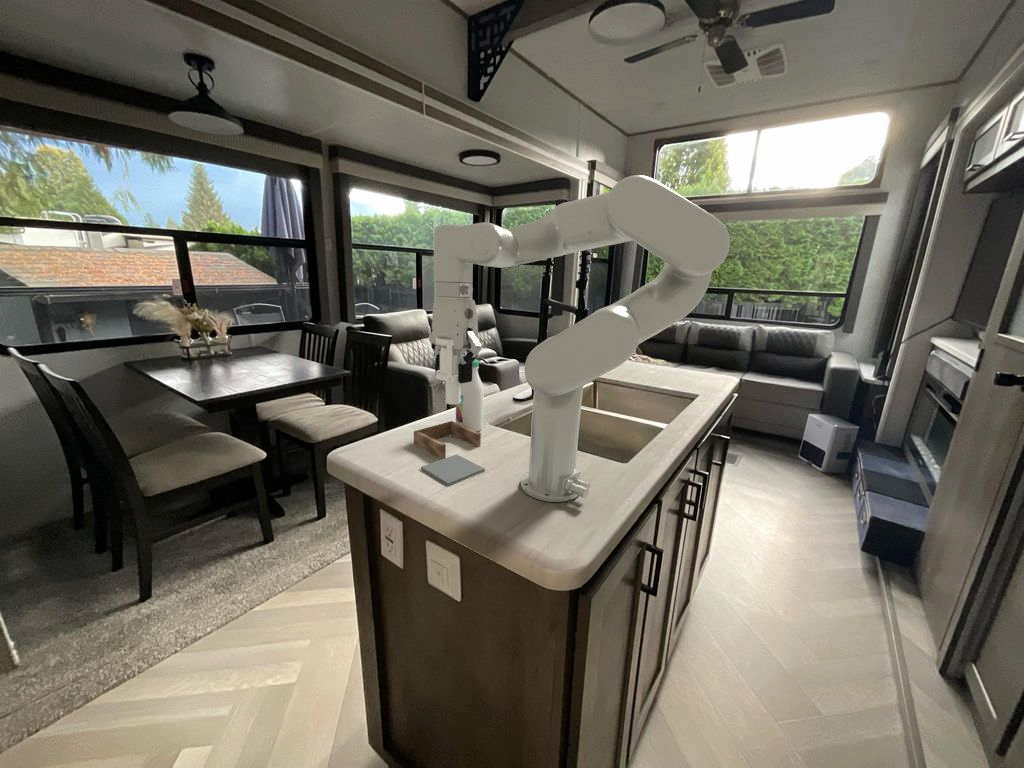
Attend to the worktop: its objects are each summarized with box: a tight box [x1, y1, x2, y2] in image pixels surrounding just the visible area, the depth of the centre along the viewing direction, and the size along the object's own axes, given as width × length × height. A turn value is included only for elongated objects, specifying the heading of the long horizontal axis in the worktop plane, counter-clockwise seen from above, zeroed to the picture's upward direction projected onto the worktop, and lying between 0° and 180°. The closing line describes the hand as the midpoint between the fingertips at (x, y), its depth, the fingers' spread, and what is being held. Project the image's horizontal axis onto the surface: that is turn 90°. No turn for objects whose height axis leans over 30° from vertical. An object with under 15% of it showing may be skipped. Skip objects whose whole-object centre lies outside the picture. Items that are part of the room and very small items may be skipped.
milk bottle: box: [455, 358, 485, 432], centre depth 112 cm, size 8×8×20 cm
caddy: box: [413, 420, 482, 460], centre depth 102 cm, size 12×12×4 cm
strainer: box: [435, 337, 468, 405], centre depth 83 cm, size 7×7×15 cm
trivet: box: [420, 454, 486, 487], centre depth 89 cm, size 10×10×1 cm
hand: (453, 378), depth 84 cm, fingers closed on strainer, 7 cm apart
